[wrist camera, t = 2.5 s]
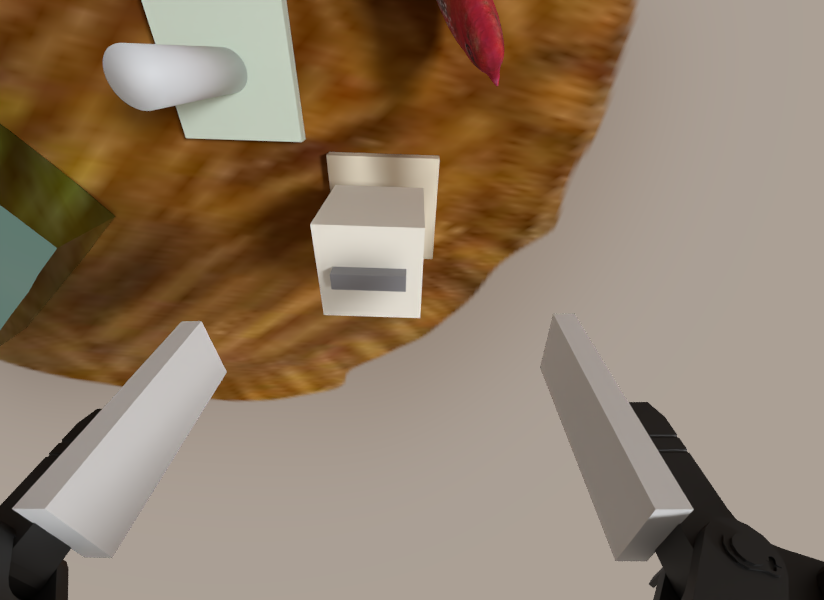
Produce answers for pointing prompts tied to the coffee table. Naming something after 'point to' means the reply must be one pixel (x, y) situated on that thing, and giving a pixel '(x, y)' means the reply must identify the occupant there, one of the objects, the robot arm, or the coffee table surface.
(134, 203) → the coffee table surface
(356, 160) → the post
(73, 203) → the sailboat water diorama
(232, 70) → the post
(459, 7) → the decorative bird figurine
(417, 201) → the white drawer box
